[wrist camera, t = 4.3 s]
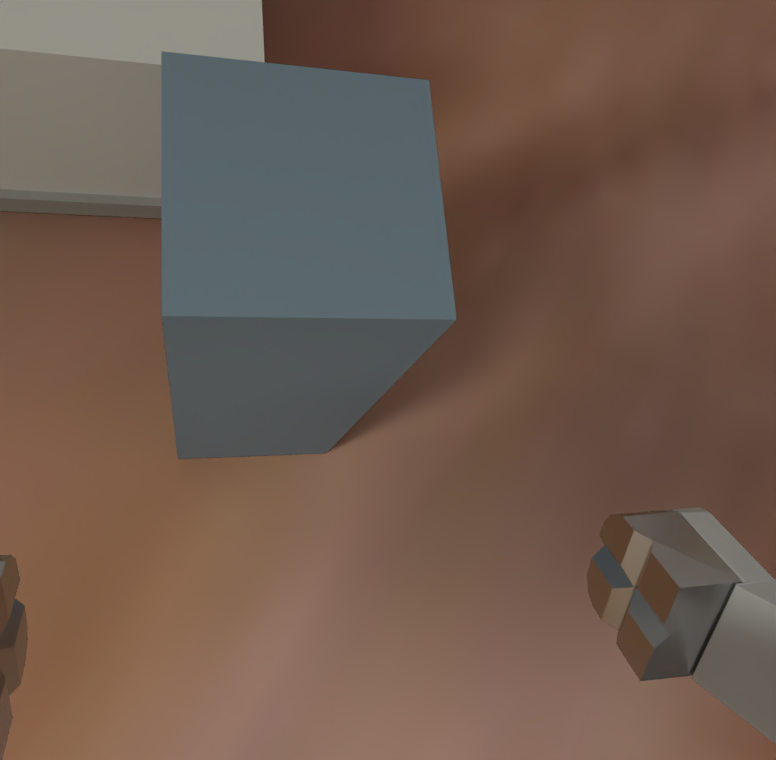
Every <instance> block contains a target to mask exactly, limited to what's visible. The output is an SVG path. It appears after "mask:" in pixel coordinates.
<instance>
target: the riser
mask: <svg viewBox="0 0 776 760" xmlns="http://www.w3.org/2000/svg"><path fill="white" fill-rule="evenodd" d="M161 51H164V52H173V53H182V54H191V55H201V56H210V57H219V58H229V59H238V60H247V61H257V62H265V60H264V38H263V16H262V0H0V211H11V212H32V213H53V214H75V215H96V216H117V217H138V218H159V219H161Z"/></svg>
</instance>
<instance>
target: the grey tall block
mask: <svg viewBox="0 0 776 760" xmlns="http://www.w3.org/2000/svg"><path fill="white" fill-rule="evenodd" d="M161 266H162V324H163V333H164V342H165V350H166V359H167V368H168V376H169V385H170V393H171V402H172V411H173V419H174V428H175V436H176V445H177V454H178V459H194V458H219V457H245V456H270V455H295V454H321V453H327V452H328V451H329V450H330V449H331V448H332V447H333V446H334V445H335V444H336V443H337V442H338V441H339V440H340V439H341V438H342V437H343V436H344V435H345V434H346V433H347V432H348V431H349V429H350V428H351V427H352V426H353V425H354V424H355V423H356V422H357V421H358V420H359V419H360V418H361V417H362V416H363V415H364V414H365V413H366V412H367V411H368V410H369V409H370V408H371V407H372V406H373V405H374V404H375V403H376V402H377V401H378V400H379V399H380V398H381V397H382V396H383V395H384V394H385V393H386V392H387V391H388V390H389V389H390V388H391V386H392V385H393V384H394V383H395V382H396V381H397V380H398V379H399V378H400V377H401V376H402V375H403V374H404V373H405V372H406V371H407V370H408V369H409V368H410V367H411V366H412V365H413V364H414V363H415V362H416V361H417V360H418V359H419V358H420V357H421V356H422V355H423V354H424V353H425V352H426V351H427V350H428V349H429V348H430V347H431V346H432V345H433V343H434V342H435V341H436V340H437V339H438V338H439V337H440V336H441V335H442V334H443V333H444V332H445V331H446V330H447V329H448V328H449V327H450V326H451V325H452V324H453V323H454V322H455V321H456V320H457V318H456V309H455V300H454V292H453V283H452V274H451V266H450V257H449V249H448V240H447V231H446V223H445V214H444V205H443V197H442V188H441V180H440V171H439V162H438V154H437V145H436V137H435V128H434V119H433V111H432V102H431V93H430V85H429V80H424V79H414V78H405V77H396V76H387V75H377V74H368V73H359V72H349V71H340V70H331V69H322V68H312V67H303V66H294V65H284V64H275V63H266V62H257V61H247V60H238V59H229V58H219V57H210V56H201V55H191V54H182V53H173V52H164V51H161Z"/></svg>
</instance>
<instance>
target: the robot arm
mask: <svg viewBox="0 0 776 760" xmlns="http://www.w3.org/2000/svg"><path fill="white" fill-rule="evenodd" d="M600 537H601V539H602V541H603V543H604V545H605V546H604V547H603V548H601V549H600V550H599V551H598V552H597V553H596V554H595V555H594V556H593V557H592V559H591V562H590V566H589V569H588V573H587V582H588V593H589V596H590V599H591V602H592V605H593V607H594V609H595V610H596V612H597V614H598V615H599V617H600V619H601V620H602V621H604V622H605V623H607V624H608V625H610V626H612V627H613V628H615V629H616V630H618V635H617V643H616V644H617V645H618V647H619V649H620V650H621V652H622V653H623V655H624V656H625V658H626V660H627V661H628V663H629V664H630V666H631V667H632V669H633V670H634V672H635V674H636V675H637V677H638V678H639V680H640V681H646V680H655V679H665V678H674V677H683V676H692V678H691V679H693V680H694V681H695V682H696V683H698V684H699V685H700V686H702V687H703V688H704V689H705V690H707V691H708V692H709V693H711V694H712V695H713V696H714V697H716V698H717V699H718V700H720V701H721V702H722V703H723V704H725V705H726V706H727V707H729V708H730V709H731V710H732V711H734V712H735V713H736V714H738V715H739V716H740V717H741V718H743V719H744V720H745V721H747V722H748V723H749V724H750V725H752V726H753V727H754V728H756V729H757V730H758V731H759V732H761V733H762V734H763V735H765V736H766V737H767V738H768V739H770V740H771V741H772V742H774V743H775V744H776V580H775V579H774V578H773V577H772V576H771V575H770V574H769V573H768V572H767V571H766V570H765V569H764V568H763V567H762V566H761V565H760V564H759V563H758V562H757V561H756V560H755V559H754V558H753V557H752V556H751V555H750V554H749V553H748V552H747V551H746V550H745V548H744V547H743V546H742V545H741V544H740V543H739V542H738V541H737V540H736V539H735V538H734V537H733V536H732V535H731V534H730V533H729V532H728V531H727V530H726V529H725V528H724V527H723V526H722V525H721V524H720V523H719V522H718V521H717V520H716V518H715V517H714V516H713V515H712V514H711V513H710V512H708V511H706V510H704V509H702V508H700V507H693V508H681V509H670V510H668V511H666V510H663V511H650V512H637V513H624V514H611V515H610V516H609V517H608V518H607V519H606V521H605V522H604V524H603V527H602V529H601V532H600ZM19 581H20V576H19V571H18V566H17V562H16V558H14V557H13V556H12V555H0V760H2V759H3V755H4V751H5V747H6V743H7V739H8V735H9V730H10V726H11V722H12V718H13V716H12V711H11V705H10V700H9V695H10V694H11V693H12V692H13V691H14V690H15V689H16V688H17V687H18V686H19V685H20V684H21V680H22V676H23V671H24V667H25V660H26V650H27V640H28V637H27V618H26V611H25V606H24V605H23V604H22V603H20V602H19V601H18V600H16V599H15V596H16V592H17V589H18V585H19Z"/></svg>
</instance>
